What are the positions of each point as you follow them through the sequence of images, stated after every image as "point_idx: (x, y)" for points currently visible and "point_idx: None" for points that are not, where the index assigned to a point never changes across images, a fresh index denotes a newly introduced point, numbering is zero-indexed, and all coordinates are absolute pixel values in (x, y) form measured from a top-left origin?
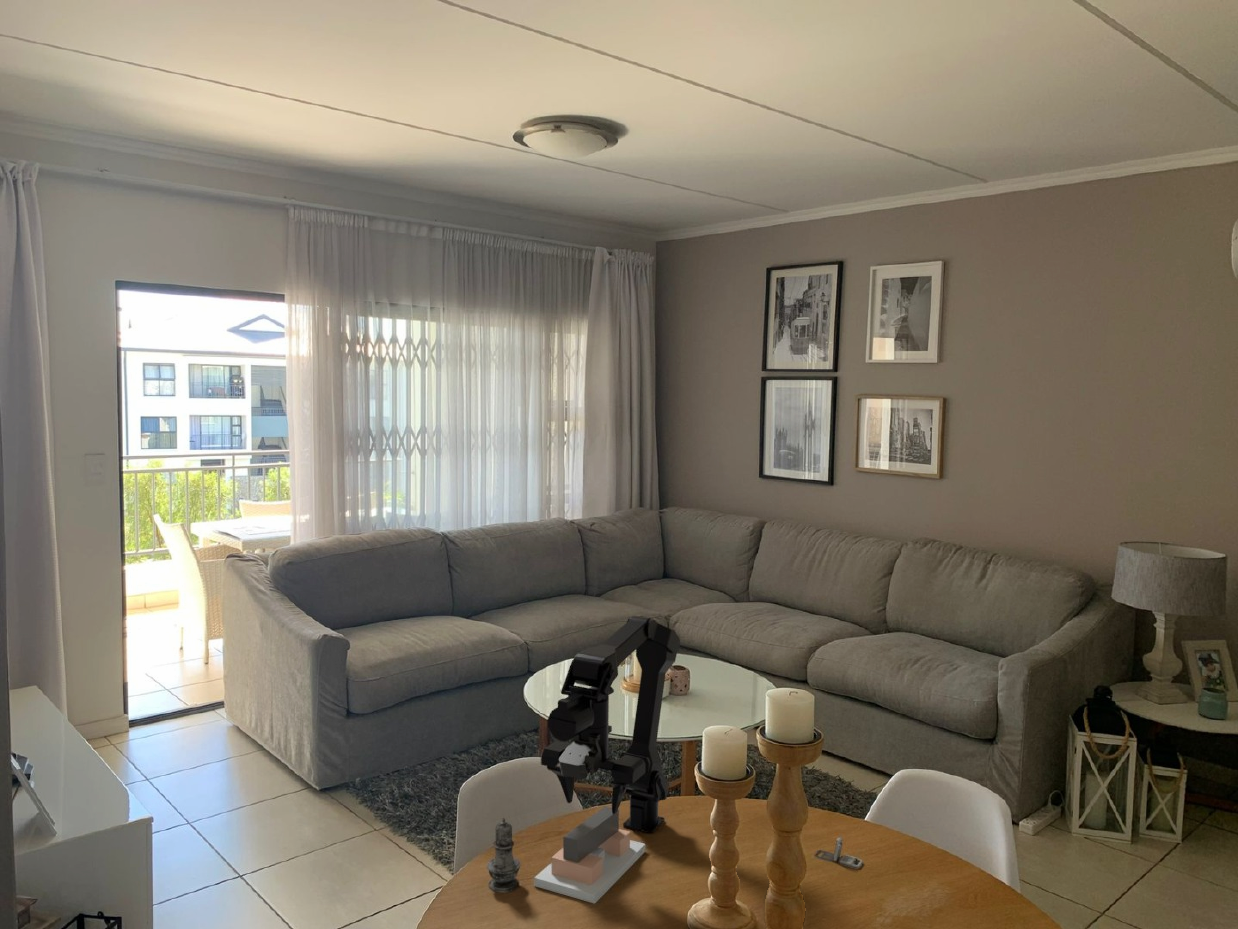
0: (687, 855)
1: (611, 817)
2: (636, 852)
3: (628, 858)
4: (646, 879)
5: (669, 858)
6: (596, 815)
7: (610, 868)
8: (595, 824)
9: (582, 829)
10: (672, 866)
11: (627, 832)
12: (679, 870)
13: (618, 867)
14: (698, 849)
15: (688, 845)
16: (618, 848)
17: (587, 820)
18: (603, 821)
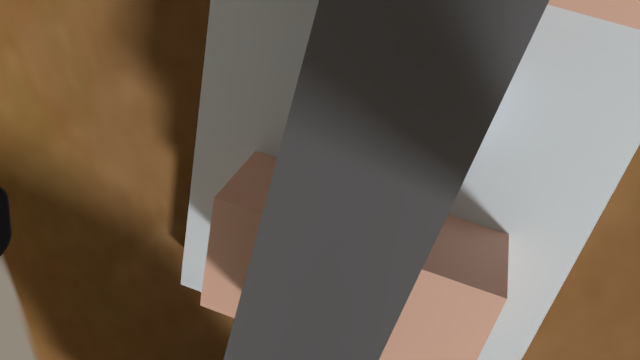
0: (34, 246)
1: (232, 336)
2: (190, 204)
3: (207, 139)
4: (102, 11)
5: (85, 217)
6: (346, 346)
7: (267, 5)
8: (305, 188)
9: (412, 54)
10: (47, 154)
11: (209, 297)
12: (8, 124)
13: (224, 26)
14: (18, 291)
15: (62, 317)
16: (247, 175)
17: (406, 257)
18: (252, 251)
